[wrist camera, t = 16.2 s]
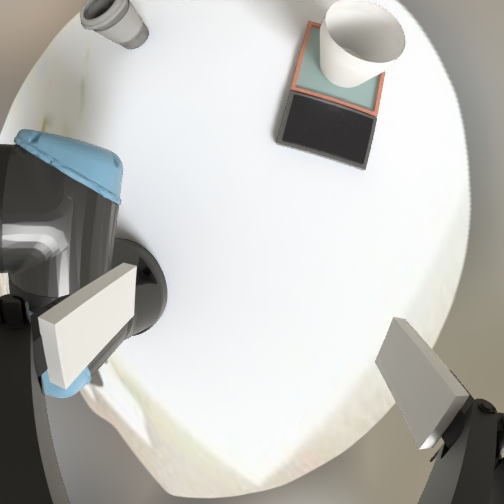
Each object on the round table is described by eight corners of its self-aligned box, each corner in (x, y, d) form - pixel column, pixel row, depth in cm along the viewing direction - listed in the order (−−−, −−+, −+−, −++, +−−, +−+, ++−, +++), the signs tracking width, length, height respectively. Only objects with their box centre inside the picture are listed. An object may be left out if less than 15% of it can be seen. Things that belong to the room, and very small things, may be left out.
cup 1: (144, 13, 32) (111, -22, 21) (163, 33, 33) (131, -5, 22) (110, 41, 34) (70, 13, 22) (127, 63, 35) (86, 34, 23)
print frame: (290, 91, 35) (290, 89, 34) (308, 24, 32) (308, 21, 31) (374, 118, 34) (376, 116, 33) (386, 50, 32) (388, 47, 31)
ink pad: (276, 144, 36) (276, 142, 35) (289, 93, 35) (290, 89, 33) (362, 170, 36) (366, 169, 35) (374, 119, 35) (378, 117, 33)
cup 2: (330, 30, 31) (347, -15, 20) (384, 65, 32) (418, 30, 20) (298, 71, 34) (307, 30, 22) (355, 108, 34) (386, 81, 22)
